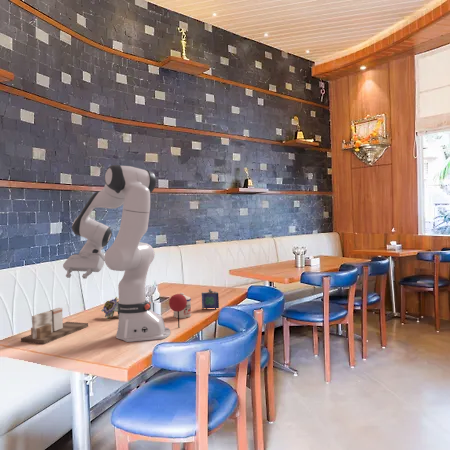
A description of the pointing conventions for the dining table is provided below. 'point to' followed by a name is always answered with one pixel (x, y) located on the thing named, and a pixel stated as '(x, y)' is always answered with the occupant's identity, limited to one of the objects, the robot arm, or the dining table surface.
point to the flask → (210, 299)
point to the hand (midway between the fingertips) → (75, 277)
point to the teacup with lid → (186, 311)
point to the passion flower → (110, 308)
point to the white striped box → (57, 319)
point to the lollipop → (177, 303)
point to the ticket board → (57, 333)
